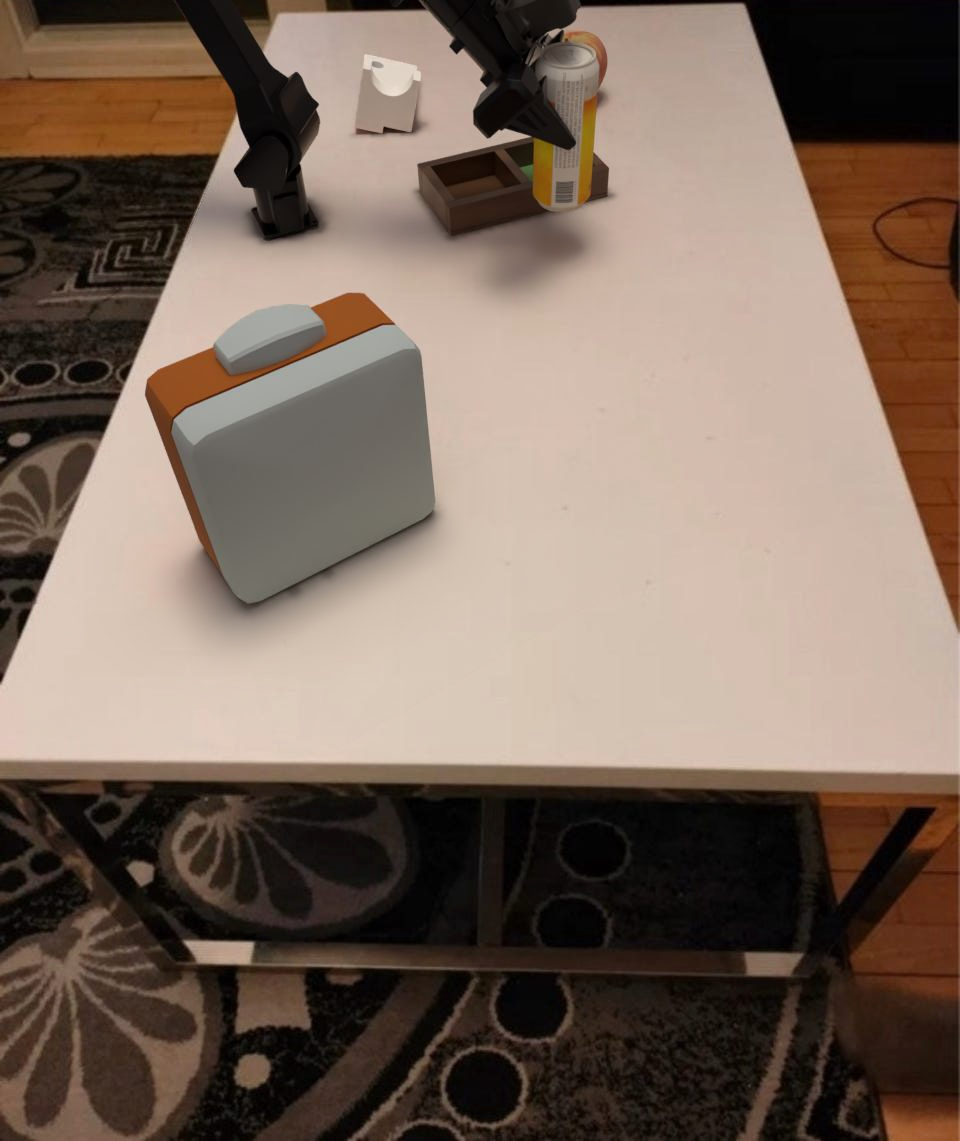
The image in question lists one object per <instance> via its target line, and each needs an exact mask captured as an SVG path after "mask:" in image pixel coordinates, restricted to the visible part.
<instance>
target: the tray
mask: <svg viewBox="0 0 960 1141" xmlns="http://www.w3.org/2000/svg"><path fill="white" fill-rule="evenodd" d="M533 160H534V137H531V136H528V137H525V138H520V139H516V140H512V141H507V142H503V143H499V144H494V145H491V146H486V147H482V148H477V149H474V150H470V151H469V150H468V151H465V152H461V153H457V154H452V155H448V156H444V157H439V158H436V159H432V160H428V161H424V162H419V163H417V164H416V167H417V178H418V191H419V193H420V194H421V196H422V197H423V199H424V200H425V201H426V204H428V205H429V207H430V209H431V210H432V212H434V214H435V216H436V217H437V218H438V219H439V221H440V223H441V224H442V226H444V228H445V229H446V231H447V232H448V234H449V235H450V236H456V235H461V234H466V233H468V232H472V231H476V230H479V229H484V228H488V227H492V226H496V225H499V224H503V223H507V222H511V221H515V220H519V219H523V218H526V217H531V216H534V215H535V216H536V215H539V214H542V213H546V212H550V210H547V209H545V208H543V207H542V206H541V205H540V204H539V203H538V201H537V200H536V199H535V197H534V195H533ZM609 175H610V167H609V166H608V165H607V164H606V163H605V162H604V161H603V160H602V159H601V158H600V157H599V155H597V154H596V152H594V151H593V165H592V179H591V193H590V197H589V198H588V199H587V200H586V201H585V202H589V201H593V200H597V199H600V198H601V199H602V198H605V197H608V191H609V190H608V189H609ZM585 202H584V203H585Z"/></svg>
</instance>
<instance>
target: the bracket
mask: <svg viewBox="0 0 960 1141" xmlns="http://www.w3.org/2000/svg"><path fill="white" fill-rule="evenodd" d="M421 82H422V71H419V70H418V65H415V64H412V63H408V62H407V63H406V62H404V61H403V62H402V61H398V60H395V59H390V58H385V57H381V56H376V55H374V54H373V55H372V54H368V53H364V56H363V63H362V70H361V77H360V83H359V93H358V99H357V107H356V114H355V115H356V116H355V123H354V128H355V129H360V130H365V131H369V132H373V133H378V134H383V133H384V127H385V128H388V129H394V130H398V131H403V132H407V133H412V130H413V125H414V119H415V114H416V110H417V109H416V108H417V104H418V98H419V94H420V89H421V88H420V87H421Z"/></svg>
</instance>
